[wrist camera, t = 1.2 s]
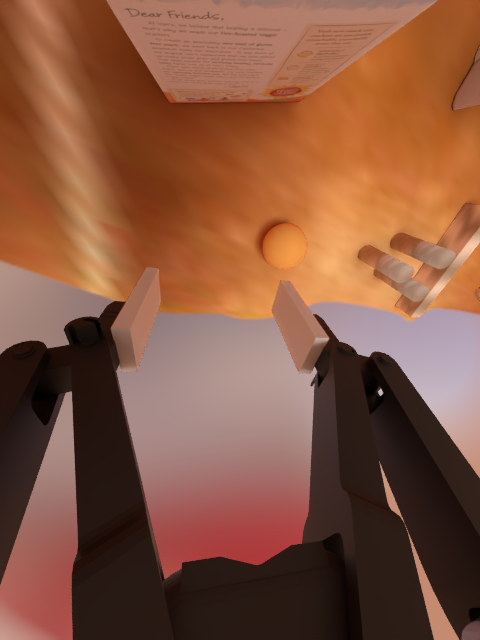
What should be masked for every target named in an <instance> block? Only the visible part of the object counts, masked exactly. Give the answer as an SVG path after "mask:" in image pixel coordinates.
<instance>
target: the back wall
mask: <svg viewBox="0 0 480 640" xmlns="http://www.w3.org/2000/svg"><path fill="white" fill-rule="evenodd" d="M479 243H480V205H475V204H468V203H465V205H464V206H463V207H462V209H461V210H460V212H459V213H458V215H457V216H456V218H455V219H454V221H453V222H452V223H451V225H450V226H449V228H448V229H447V231H446V232H445V234H444V235H443V237H442V238H441V239H440V241H439V242H438V244H437V245H438V246H440V247H443V248H446V249H449V250H452V251H454V252H455V253H456V257H455V259H454V261H453V262H452V263H451V264H450V265H449V266H447V267H446V268H443V269H437V268H435V267H433V266H431V265H428V264H426V263H424V264H423V266H422V267H421V269H420V270H419V272H418V273H417V274H416V276H415V277H414V280H415V281H417V282H419V283H421V284H422V285H424V286H426V287H428V288H429V293H428V295H427V296H426V297H425V298H424V299H422V300H420V301H418V302H414V301H412V300H411V299H409V298H408V297H406V296H405V295H402V296H401V298H400V299H399V301H398V302H397V304H396V306H397V307H399V308H400V309H401V310H403V311H404V312H405V313H406V314H408V315H409V316H410V317H421V315H422V314H423V313H424V312H425V310H426V309H427V308H428V307H429V305H430V304H431V303H432V302H433V300H434V299H435V298H436V297H437V295H438V294H439V293H440V292H441V290H442V289H443V288H444V287H445V285H446V284H447V283H448V282H449V280H450V279H451V278H452V277H453V275H454V274H455V273H456V271H457V270H458V269H459V268H460V266H461V265H462V264H463V263H464V261H465V260H466V259H467V258H468V256H469V255H470V254H471V253H472V251H473V250H474V249H475V248H476V246H477V245H478V244H479Z"/></svg>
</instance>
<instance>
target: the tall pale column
mask: <svg viewBox="0 0 480 640" xmlns="http://www.w3.org/2000/svg"><path fill="white" fill-rule="evenodd" d="M476 105H480V46H479V48H478V51H477V53H476V56H475V60H474V64H473V65H472V67H471V69H470V70H469V72H468V74H467V75H466V77H465V79H464V80H463V82H462V84H461V86H460V87H459V89H458V91H457V92H456V94H455V96H454V99H453V103H452V110H458V109H463V108H467V107H472V106H476Z"/></svg>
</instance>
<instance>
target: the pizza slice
mask: <svg viewBox="0 0 480 640" xmlns="http://www.w3.org/2000/svg"><path fill="white" fill-rule="evenodd" d="M475 294H476V296H477V298H478V299H479V301H480V287H479V288H478V289H477V290H476V291H475Z"/></svg>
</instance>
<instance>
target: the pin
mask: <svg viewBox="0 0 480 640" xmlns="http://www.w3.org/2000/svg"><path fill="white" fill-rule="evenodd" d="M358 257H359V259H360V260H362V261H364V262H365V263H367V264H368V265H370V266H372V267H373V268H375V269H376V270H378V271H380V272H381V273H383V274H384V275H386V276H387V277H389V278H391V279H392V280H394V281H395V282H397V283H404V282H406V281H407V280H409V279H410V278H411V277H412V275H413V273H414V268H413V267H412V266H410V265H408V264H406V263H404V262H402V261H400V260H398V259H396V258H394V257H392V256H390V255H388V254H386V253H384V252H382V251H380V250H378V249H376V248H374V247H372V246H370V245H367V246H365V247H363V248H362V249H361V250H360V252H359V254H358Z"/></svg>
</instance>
